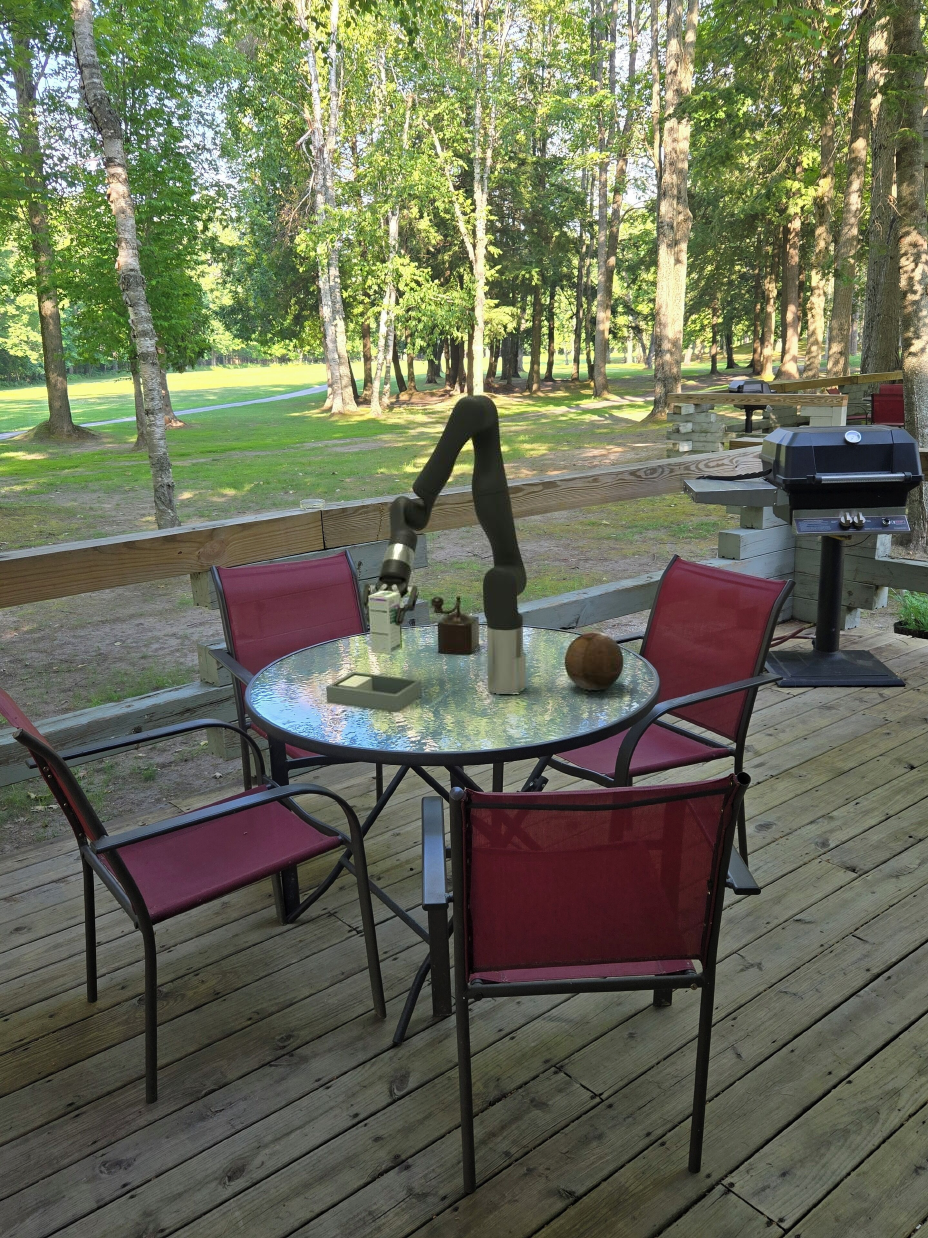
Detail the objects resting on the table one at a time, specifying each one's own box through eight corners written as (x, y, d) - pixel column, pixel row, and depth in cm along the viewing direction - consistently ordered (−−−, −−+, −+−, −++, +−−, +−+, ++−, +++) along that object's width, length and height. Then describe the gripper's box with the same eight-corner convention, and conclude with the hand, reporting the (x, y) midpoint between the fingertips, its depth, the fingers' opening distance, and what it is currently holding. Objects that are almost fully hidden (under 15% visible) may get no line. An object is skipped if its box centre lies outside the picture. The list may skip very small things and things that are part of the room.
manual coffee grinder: (445, 643, 279) (444, 586, 274) (480, 645, 276) (479, 588, 271) (429, 658, 264) (428, 598, 260) (466, 660, 261) (465, 599, 257)
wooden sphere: (631, 685, 237) (633, 630, 233) (607, 702, 225) (608, 644, 221) (580, 676, 245) (581, 623, 241) (554, 692, 233) (554, 636, 229)
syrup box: (390, 655, 219) (388, 596, 215) (370, 652, 222) (368, 594, 218) (402, 648, 224) (401, 592, 220) (382, 645, 227) (380, 589, 223)
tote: (422, 699, 229) (421, 680, 228) (397, 716, 218) (396, 696, 217) (354, 689, 238) (353, 671, 236) (327, 705, 226) (326, 686, 225)
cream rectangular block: (372, 692, 232) (371, 677, 231) (356, 702, 225) (355, 686, 224) (355, 690, 234) (355, 675, 233) (339, 699, 227) (338, 684, 226)
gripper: (366, 556, 226) (351, 613, 218) (421, 558, 222) (407, 617, 214) (374, 573, 232) (359, 629, 224) (427, 575, 229) (415, 632, 221)
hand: (383, 623), depth 219 cm, fingers closed on syrup box, 6 cm apart
